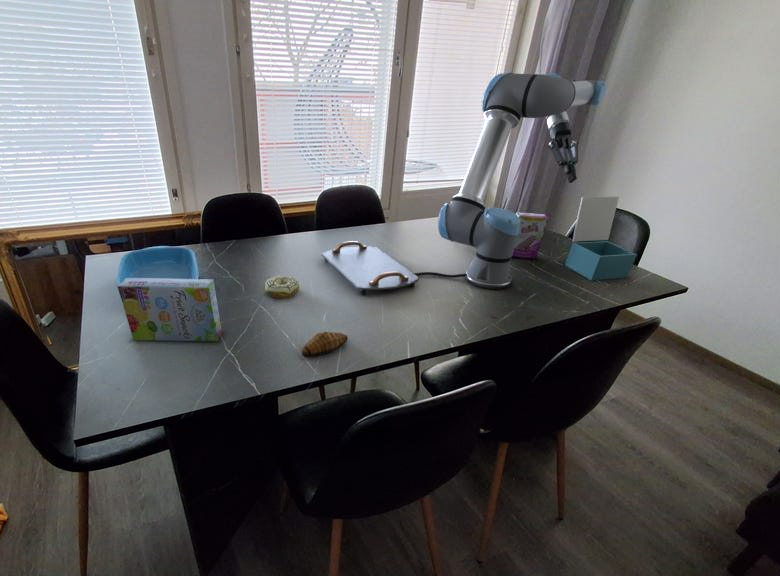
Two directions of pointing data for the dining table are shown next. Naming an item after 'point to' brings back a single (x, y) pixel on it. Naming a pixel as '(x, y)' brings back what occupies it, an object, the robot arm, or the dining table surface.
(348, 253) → the serving tray
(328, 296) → the dining table surface
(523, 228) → the candy bar box
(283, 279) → the decorated donut
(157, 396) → the dining table surface
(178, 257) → the casserole dish
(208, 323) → the snack box
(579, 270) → the tote
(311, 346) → the croissant
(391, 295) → the dining table surface
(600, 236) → the lid
